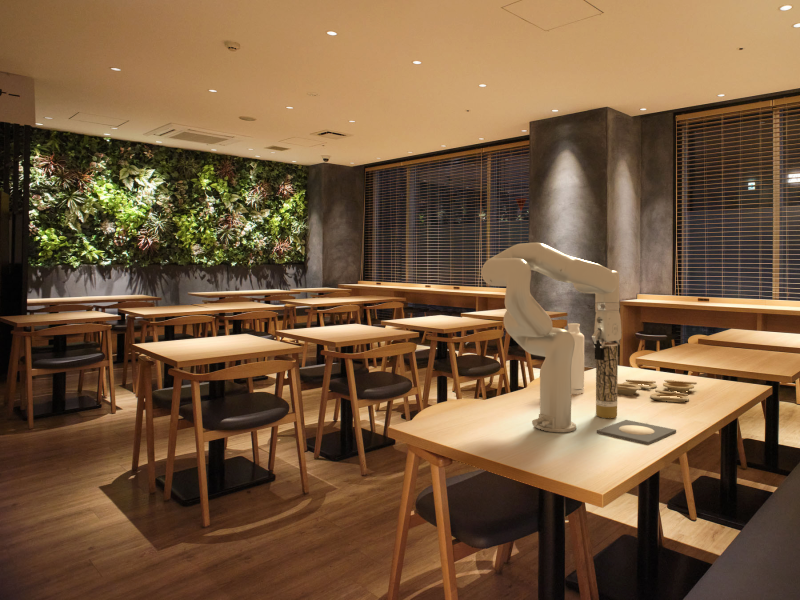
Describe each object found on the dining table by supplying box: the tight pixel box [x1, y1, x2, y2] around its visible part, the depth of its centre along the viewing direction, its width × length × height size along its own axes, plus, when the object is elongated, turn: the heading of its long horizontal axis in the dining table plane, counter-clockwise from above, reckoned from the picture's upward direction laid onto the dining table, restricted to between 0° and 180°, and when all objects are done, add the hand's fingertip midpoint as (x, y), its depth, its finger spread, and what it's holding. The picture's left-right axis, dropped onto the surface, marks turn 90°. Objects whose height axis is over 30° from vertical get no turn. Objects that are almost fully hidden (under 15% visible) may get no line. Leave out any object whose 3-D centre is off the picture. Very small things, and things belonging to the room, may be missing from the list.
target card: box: [596, 419, 677, 445], centre depth 172 cm, size 18×16×1 cm
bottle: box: [567, 322, 585, 395], centre depth 229 cm, size 8×8×28 cm
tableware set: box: [617, 379, 698, 403], centre depth 228 cm, size 35×29×4 cm
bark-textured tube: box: [595, 342, 619, 419], centre depth 190 cm, size 7×7×25 cm
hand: (607, 358), depth 190 cm, fingers open, 9 cm apart
